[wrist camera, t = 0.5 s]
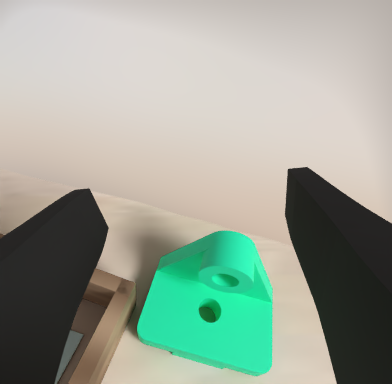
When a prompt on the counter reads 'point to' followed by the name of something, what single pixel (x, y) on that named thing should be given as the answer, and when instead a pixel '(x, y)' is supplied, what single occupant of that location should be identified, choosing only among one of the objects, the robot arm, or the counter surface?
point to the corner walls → (105, 324)
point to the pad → (68, 352)
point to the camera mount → (212, 304)
